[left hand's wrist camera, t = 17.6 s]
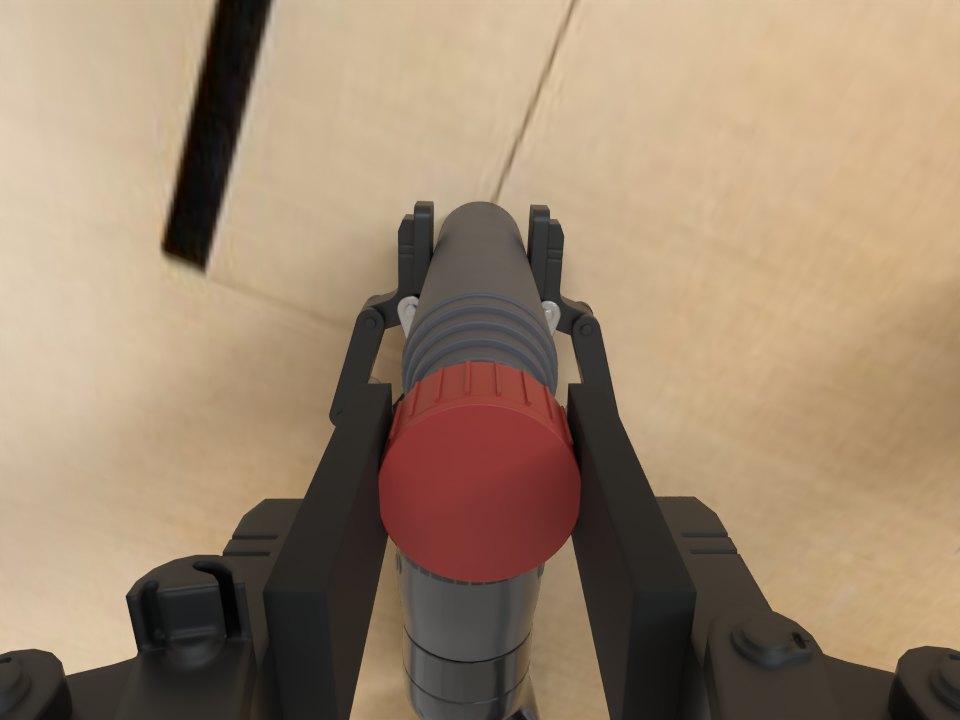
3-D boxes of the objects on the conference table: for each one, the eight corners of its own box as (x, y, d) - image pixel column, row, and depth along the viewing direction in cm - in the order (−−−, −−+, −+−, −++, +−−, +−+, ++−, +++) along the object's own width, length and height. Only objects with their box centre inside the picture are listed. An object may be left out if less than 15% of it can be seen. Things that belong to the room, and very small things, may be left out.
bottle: (432, 274, 36) (353, 557, 14) (447, 193, 35) (385, 360, 12) (511, 289, 37) (561, 592, 14) (528, 210, 35) (618, 403, 12)
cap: (564, 525, 15) (576, 588, 13) (389, 519, 15) (375, 582, 13) (578, 361, 14) (595, 405, 12) (386, 355, 14) (370, 397, 12)
